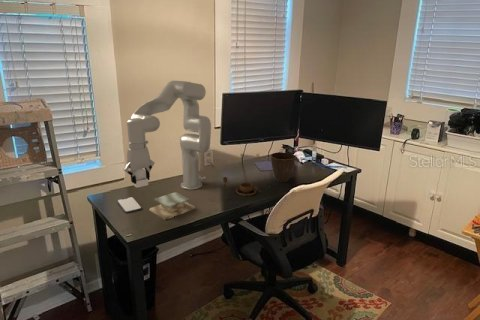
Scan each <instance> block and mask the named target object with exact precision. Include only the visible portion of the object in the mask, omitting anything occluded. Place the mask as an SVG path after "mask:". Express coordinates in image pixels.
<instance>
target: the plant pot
mask: <svg viewBox="0 0 480 320" xmlns="http://www.w3.org/2000/svg"><path fill="white" fill-rule="evenodd" d="M295 160H296V155H295V154H294V153H290V152H282V151H281V152H274V153H271V155H270V161H271V167H272V171H273V174H274V175H273V176H274V178H275V181H276V182H278V183H287V182H288V181H289V180H290V177H291V174H292V172H293V169H294V165H295Z"/></svg>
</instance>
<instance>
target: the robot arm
mask: <svg viewBox="0 0 480 320" xmlns="http://www.w3.org/2000/svg"><path fill="white" fill-rule="evenodd" d="M206 94H207V91H206V88H205V86H204V85H203V84H202V83H195V82H191V81H186V80H185V81H184V80H171V81H169V82H167V84H166V85H165V86H164V87H163V88H162V89H161V91H160V92H159V93H158V94H157V96H155V97H154V98H153V99H149V101H146V102H145V103H143V104H142V105H140V106H138V107H137V109H136V110H135V111H134V112H133V114H132V115H131V117H130V118H129V119H128V120H127V122H126V128H127V137H128V148H127V149H126V150H127V152H126V165H125V166H124V168H123V171H124V172H125V173H127V174H128V175H130V180H131V181H130V182H131V183H132V184H133V185H134V184H136V176H135V172H136V170H139V169H144V170H145V171H146V178H147V179H148V181H150V177H151V176H150V175H151V174H150V172H151V171H152V168H153V167H154V165H155V161H154V160H152V159H151V156H150V152H149V148H148V146H147V144H149V141H148V140H146V139H147V138H146V133H152V132H153V133H154V132H156V131H158V129H159V128H160V126H161V122H160V119H159V118H158V117H157V116H155V114H159V113H165V112H167V111H169V110H170V109H171V108H172V106H173V105H174V104H175V103H176V101H177V100H178V99H180V100H181V102H182V105H183V129H184V130H185V131H188V132H192V133H184V134H182V135H181V137H180V139H179V144H180V145H179V147H180V149H181V157H182V182H181V183H180V187H181V188H182V189H183V190H189V191H190V190H199V189H200V188H202V187H203V182H202V181H205V180H206V179H207V177H206V176H203V177H202V176H201V175H200V156H199V154H198V153H206V152H208V151H209V150H210V146H211V137H212V136H211V135H212V122H211V119H210V118H209V117H208V116H206V115H200V105H199V101H202V100H203V99H204V98H205V97H206ZM196 133H198V134H196ZM129 169H130V170H129Z"/></svg>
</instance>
